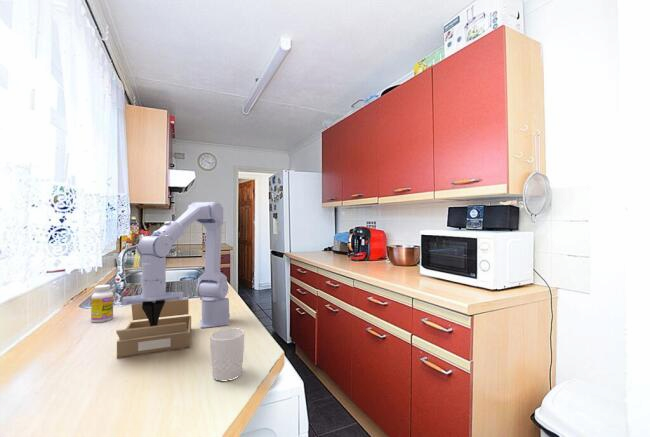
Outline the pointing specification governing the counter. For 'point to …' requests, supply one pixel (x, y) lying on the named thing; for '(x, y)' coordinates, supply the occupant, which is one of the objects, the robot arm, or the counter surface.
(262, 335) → the counter surface
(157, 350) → the carton
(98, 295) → the supplement bottle
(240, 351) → the white cup
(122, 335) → the near flap
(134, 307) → the far flap
